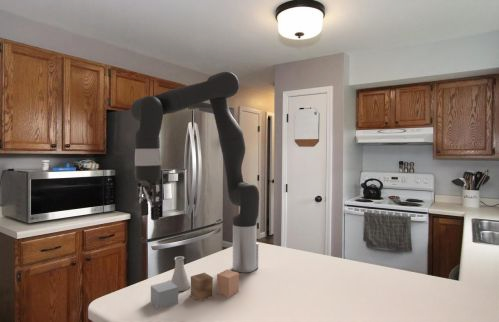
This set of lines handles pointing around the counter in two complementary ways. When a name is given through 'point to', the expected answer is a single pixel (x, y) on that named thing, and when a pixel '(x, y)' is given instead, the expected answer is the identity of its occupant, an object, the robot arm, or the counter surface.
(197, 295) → the walnut cube
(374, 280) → the counter surface
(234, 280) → the terracotta cube
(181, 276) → the flask
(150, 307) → the counter surface
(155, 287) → the grey base block
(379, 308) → the counter surface
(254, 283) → the counter surface
